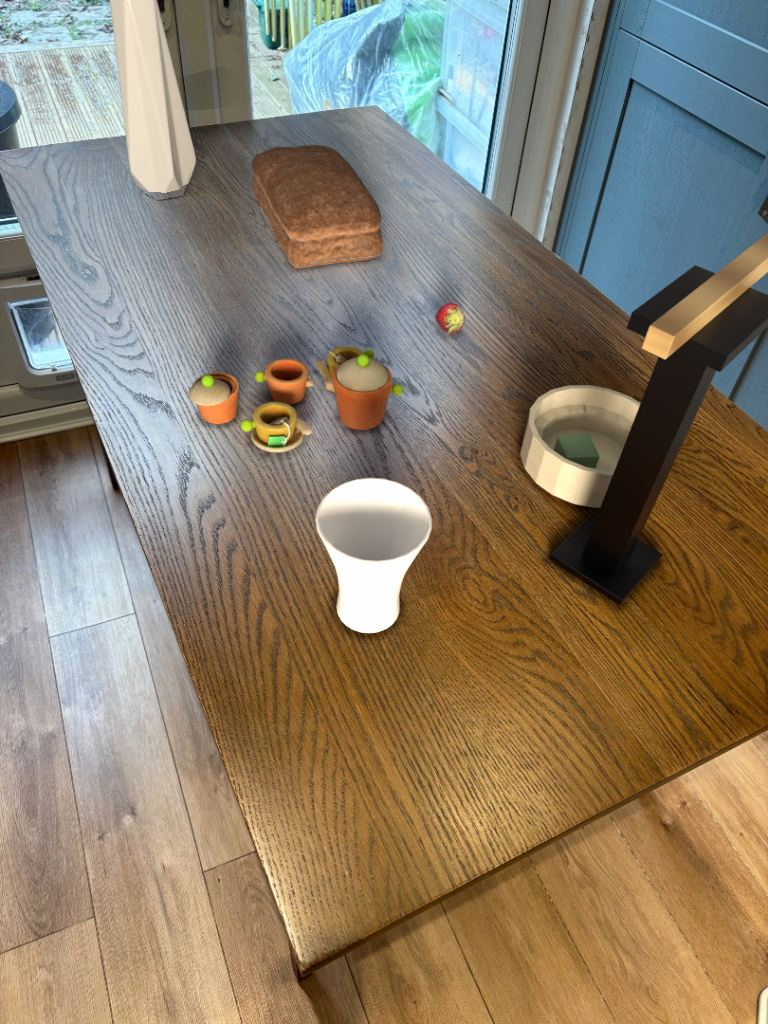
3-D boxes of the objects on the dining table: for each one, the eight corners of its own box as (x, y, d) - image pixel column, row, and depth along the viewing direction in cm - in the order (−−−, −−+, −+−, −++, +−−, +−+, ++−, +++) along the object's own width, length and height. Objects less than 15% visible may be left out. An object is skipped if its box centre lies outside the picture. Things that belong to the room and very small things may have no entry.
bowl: (649, 434, 99) (664, 398, 94) (653, 523, 88) (670, 486, 83) (525, 412, 100) (534, 375, 96) (513, 496, 89) (523, 459, 85)
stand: (593, 515, 88) (689, 262, 65) (662, 557, 84) (791, 304, 61) (541, 566, 82) (626, 309, 59) (612, 614, 78) (734, 358, 55)
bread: (335, 188, 144) (336, 125, 136) (386, 262, 126) (390, 194, 117) (248, 196, 140) (243, 131, 132) (287, 274, 121) (285, 205, 113)
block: (581, 458, 94) (589, 434, 91) (591, 480, 91) (600, 456, 88) (550, 460, 93) (557, 435, 90) (559, 482, 90) (567, 458, 88)
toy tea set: (362, 358, 107) (365, 297, 100) (413, 423, 97) (420, 361, 90) (181, 401, 98) (170, 338, 91) (219, 478, 89) (210, 414, 82)
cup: (295, 609, 76) (290, 519, 66) (363, 551, 82) (368, 461, 72) (372, 670, 72) (380, 583, 62) (439, 605, 78) (455, 516, 68)
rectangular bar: (770, 243, 68) (779, 222, 66) (791, 252, 67) (801, 230, 66) (640, 348, 55) (649, 325, 54) (665, 360, 54) (674, 336, 53)
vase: (115, 191, 138) (71, -24, 114) (166, 174, 144) (134, -34, 121) (158, 213, 133) (121, -7, 109) (208, 194, 139) (184, -18, 116)
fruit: (455, 317, 115) (459, 288, 112) (467, 339, 111) (472, 310, 108) (429, 320, 114) (432, 290, 111) (440, 342, 111) (444, 312, 107)
